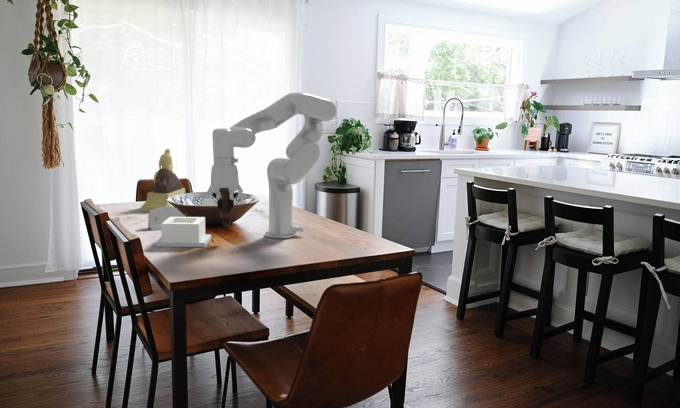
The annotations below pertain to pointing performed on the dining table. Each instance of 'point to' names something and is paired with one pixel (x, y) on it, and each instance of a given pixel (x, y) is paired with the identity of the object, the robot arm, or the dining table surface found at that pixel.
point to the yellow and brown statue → (163, 185)
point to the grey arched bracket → (162, 216)
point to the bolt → (225, 207)
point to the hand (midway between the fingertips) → (225, 209)
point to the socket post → (183, 232)
